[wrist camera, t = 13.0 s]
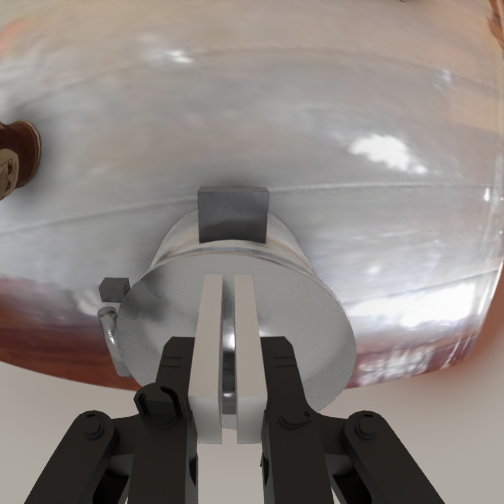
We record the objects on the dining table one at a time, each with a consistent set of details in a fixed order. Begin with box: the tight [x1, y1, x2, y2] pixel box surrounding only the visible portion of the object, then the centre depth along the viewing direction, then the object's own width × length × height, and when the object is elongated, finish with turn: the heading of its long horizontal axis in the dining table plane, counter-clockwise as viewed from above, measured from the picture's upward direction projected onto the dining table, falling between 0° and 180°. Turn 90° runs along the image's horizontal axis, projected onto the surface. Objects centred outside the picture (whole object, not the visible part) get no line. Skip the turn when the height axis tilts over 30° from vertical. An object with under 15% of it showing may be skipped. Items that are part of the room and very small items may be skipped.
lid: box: [97, 246, 356, 430], centre depth 15 cm, size 15×14×4 cm
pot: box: [99, 187, 318, 378], centre depth 22 cm, size 14×18×9 cm
